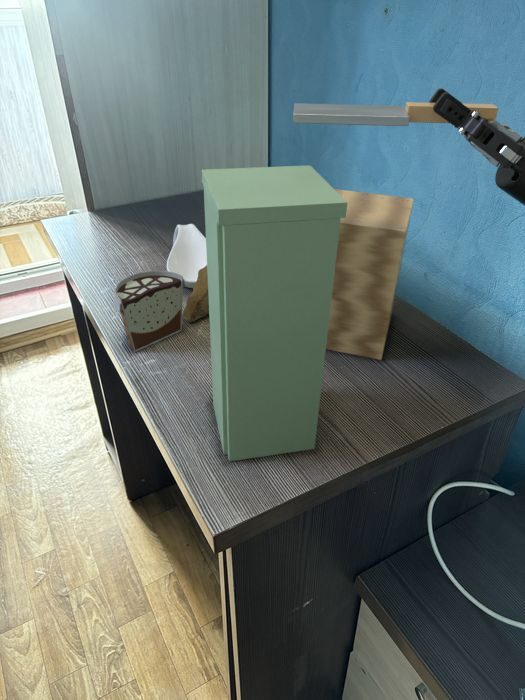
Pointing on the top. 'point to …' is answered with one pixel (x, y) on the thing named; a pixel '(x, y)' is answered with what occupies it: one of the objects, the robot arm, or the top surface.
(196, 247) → the spoon rest
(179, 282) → the mint chocolate cake slice
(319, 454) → the top surface
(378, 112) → the knife
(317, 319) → the tall green cabinet
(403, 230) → the block
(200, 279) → the rock
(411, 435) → the top surface
